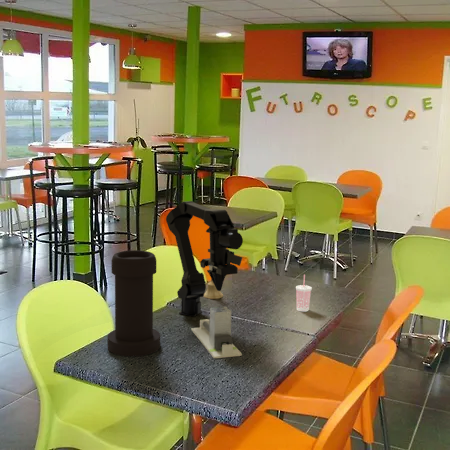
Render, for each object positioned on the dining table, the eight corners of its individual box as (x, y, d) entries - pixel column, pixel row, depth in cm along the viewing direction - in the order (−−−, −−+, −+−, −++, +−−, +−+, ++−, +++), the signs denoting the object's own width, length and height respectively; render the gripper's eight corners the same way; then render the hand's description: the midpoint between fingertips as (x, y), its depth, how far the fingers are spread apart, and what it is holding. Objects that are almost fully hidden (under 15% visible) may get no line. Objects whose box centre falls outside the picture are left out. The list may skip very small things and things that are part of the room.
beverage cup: (310, 307, 239) (312, 273, 236) (310, 312, 233) (312, 277, 230) (294, 306, 239) (296, 272, 237) (294, 311, 233) (296, 276, 231)
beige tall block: (209, 342, 197) (210, 307, 195) (225, 340, 198) (226, 306, 196) (214, 347, 192) (214, 312, 190) (230, 346, 194) (231, 311, 192)
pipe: (139, 333, 206) (139, 246, 200) (170, 347, 194) (171, 255, 189) (97, 345, 194) (96, 253, 189) (127, 360, 183) (127, 263, 177)
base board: (191, 329, 210) (191, 320, 210) (216, 327, 213) (216, 318, 213) (214, 358, 186) (214, 347, 186) (241, 355, 189) (242, 345, 188)
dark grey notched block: (214, 347, 192) (214, 336, 191) (229, 346, 194) (230, 334, 193) (216, 350, 190) (217, 339, 189) (232, 349, 191) (232, 337, 191)
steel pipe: (202, 327, 210) (202, 321, 210) (207, 326, 211) (208, 321, 210) (223, 351, 188) (223, 345, 188) (229, 351, 189) (229, 345, 189)
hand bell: (200, 298, 248) (201, 259, 245) (205, 292, 256) (206, 255, 253) (220, 299, 246) (221, 261, 243) (225, 294, 254) (226, 256, 251)
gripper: (251, 247, 205) (252, 293, 207) (227, 241, 222) (228, 283, 224) (221, 250, 201) (222, 297, 203) (199, 243, 218) (200, 286, 219)
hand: (219, 290), depth 212 cm, fingers closed
